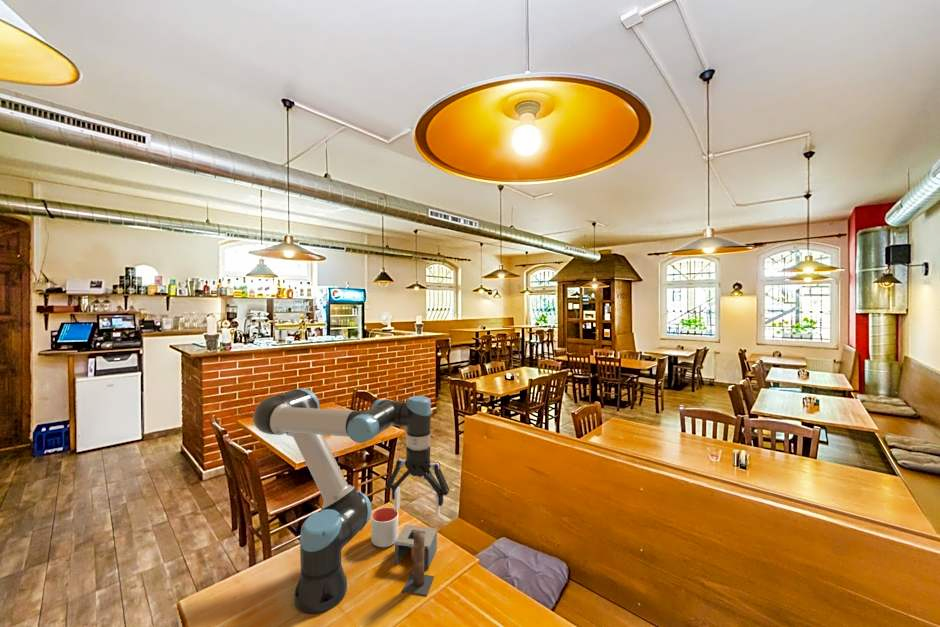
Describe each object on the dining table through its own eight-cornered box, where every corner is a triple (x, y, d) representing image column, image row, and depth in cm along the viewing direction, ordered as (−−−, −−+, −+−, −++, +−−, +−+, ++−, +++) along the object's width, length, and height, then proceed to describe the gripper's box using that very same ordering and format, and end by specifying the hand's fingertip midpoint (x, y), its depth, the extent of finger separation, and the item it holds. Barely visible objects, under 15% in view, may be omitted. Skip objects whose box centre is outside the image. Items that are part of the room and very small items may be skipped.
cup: (403, 537, 144) (403, 512, 144) (384, 552, 136) (384, 525, 135) (384, 529, 149) (384, 504, 149) (365, 542, 141) (365, 516, 141)
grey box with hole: (394, 564, 130) (394, 541, 129) (405, 545, 140) (405, 524, 139) (428, 569, 127) (428, 546, 127) (436, 550, 137) (436, 528, 137)
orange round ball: (409, 560, 132) (409, 547, 132) (413, 552, 136) (413, 540, 136) (419, 561, 131) (419, 549, 131) (423, 554, 135) (423, 542, 135)
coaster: (402, 591, 118) (402, 590, 118) (411, 573, 125) (411, 572, 125) (426, 596, 116) (426, 594, 116) (434, 577, 124) (434, 576, 124)
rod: (411, 586, 119) (412, 537, 119) (415, 578, 123) (415, 530, 122) (422, 588, 119) (422, 538, 118) (425, 580, 122) (425, 531, 121)
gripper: (376, 446, 118) (375, 512, 119) (453, 455, 113) (452, 524, 114) (386, 438, 126) (385, 500, 127) (459, 445, 121) (458, 510, 122)
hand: (417, 511), depth 120 cm, fingers open, 13 cm apart
